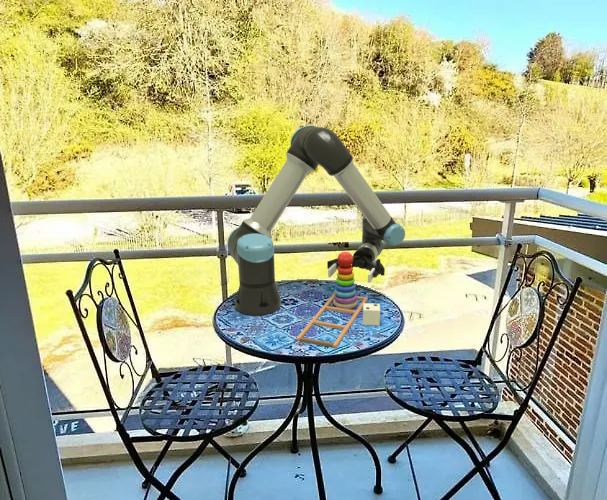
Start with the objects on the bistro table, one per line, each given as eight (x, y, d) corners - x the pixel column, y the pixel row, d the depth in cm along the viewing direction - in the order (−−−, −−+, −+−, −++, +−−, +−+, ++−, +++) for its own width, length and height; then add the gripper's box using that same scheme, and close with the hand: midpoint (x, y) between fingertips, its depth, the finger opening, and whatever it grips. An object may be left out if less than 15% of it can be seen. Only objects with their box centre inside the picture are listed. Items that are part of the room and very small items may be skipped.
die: (362, 325, 139) (363, 309, 138) (363, 317, 144) (363, 302, 142) (379, 325, 139) (380, 310, 137) (379, 318, 143) (379, 303, 142)
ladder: (296, 340, 131) (296, 337, 131) (334, 295, 161) (334, 292, 160) (336, 348, 127) (336, 345, 126) (367, 299, 156) (367, 297, 156)
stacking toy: (331, 300, 156) (332, 248, 151) (355, 299, 157) (356, 247, 151) (334, 310, 149) (335, 256, 143) (359, 309, 149) (360, 255, 143)
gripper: (398, 269, 166) (386, 291, 148) (333, 262, 175) (313, 281, 157) (399, 250, 164) (386, 269, 145) (333, 243, 173) (313, 261, 154)
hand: (348, 276), depth 151 cm, fingers open, 13 cm apart
